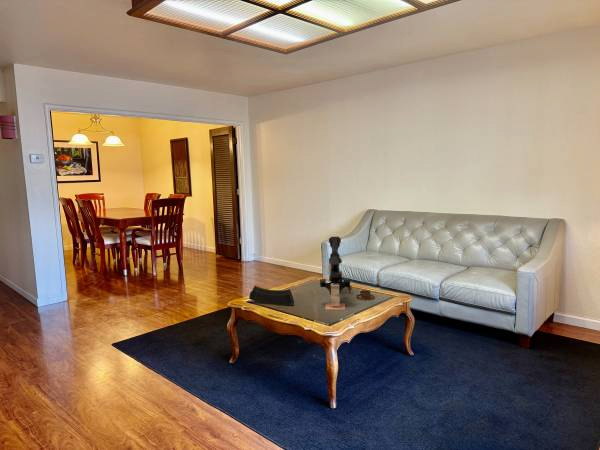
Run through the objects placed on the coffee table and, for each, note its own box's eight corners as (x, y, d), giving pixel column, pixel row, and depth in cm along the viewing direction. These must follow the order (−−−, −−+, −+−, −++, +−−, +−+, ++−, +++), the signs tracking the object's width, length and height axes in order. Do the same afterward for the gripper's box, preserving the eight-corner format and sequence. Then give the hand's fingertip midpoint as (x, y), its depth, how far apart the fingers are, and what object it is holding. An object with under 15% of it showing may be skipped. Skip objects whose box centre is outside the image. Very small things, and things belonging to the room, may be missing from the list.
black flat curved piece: (297, 291, 259) (256, 275, 268) (296, 292, 256) (254, 276, 265) (291, 315, 263) (250, 299, 271) (289, 317, 260) (247, 300, 268)
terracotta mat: (325, 304, 261) (325, 303, 261) (344, 304, 260) (344, 303, 260) (325, 309, 249) (325, 309, 249) (345, 310, 248) (345, 309, 248)
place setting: (355, 302, 266) (355, 293, 265) (346, 293, 285) (346, 285, 285) (380, 300, 269) (380, 291, 268) (370, 292, 288) (370, 284, 288)
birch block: (331, 303, 257) (331, 283, 256) (339, 303, 257) (339, 283, 255) (331, 306, 252) (331, 285, 251) (339, 306, 252) (339, 285, 250)
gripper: (319, 266, 257) (319, 288, 247) (349, 266, 255) (350, 288, 245) (320, 275, 265) (320, 297, 256) (349, 275, 264) (350, 297, 254)
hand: (335, 295), depth 253 cm, fingers closed on birch block, 5 cm apart
